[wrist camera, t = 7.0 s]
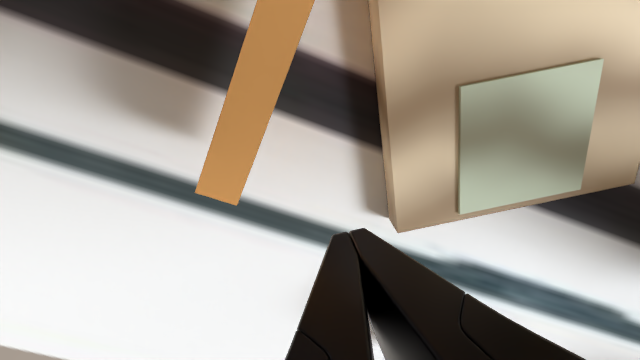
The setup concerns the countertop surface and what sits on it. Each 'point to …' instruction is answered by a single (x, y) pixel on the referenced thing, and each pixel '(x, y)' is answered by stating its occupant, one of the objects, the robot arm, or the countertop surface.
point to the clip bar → (252, 96)
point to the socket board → (503, 103)
